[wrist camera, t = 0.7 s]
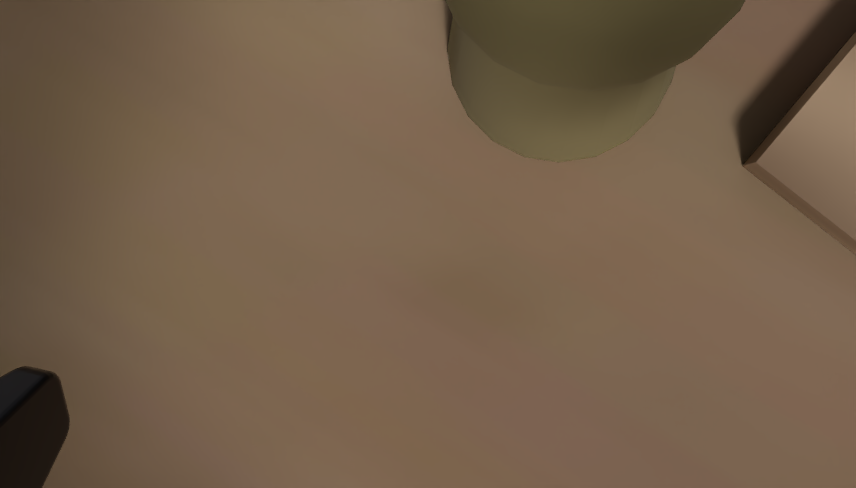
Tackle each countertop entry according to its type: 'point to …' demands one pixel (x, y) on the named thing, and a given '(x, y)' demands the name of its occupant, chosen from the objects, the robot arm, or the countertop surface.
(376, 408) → the countertop surface
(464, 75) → the cork
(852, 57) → the slab
